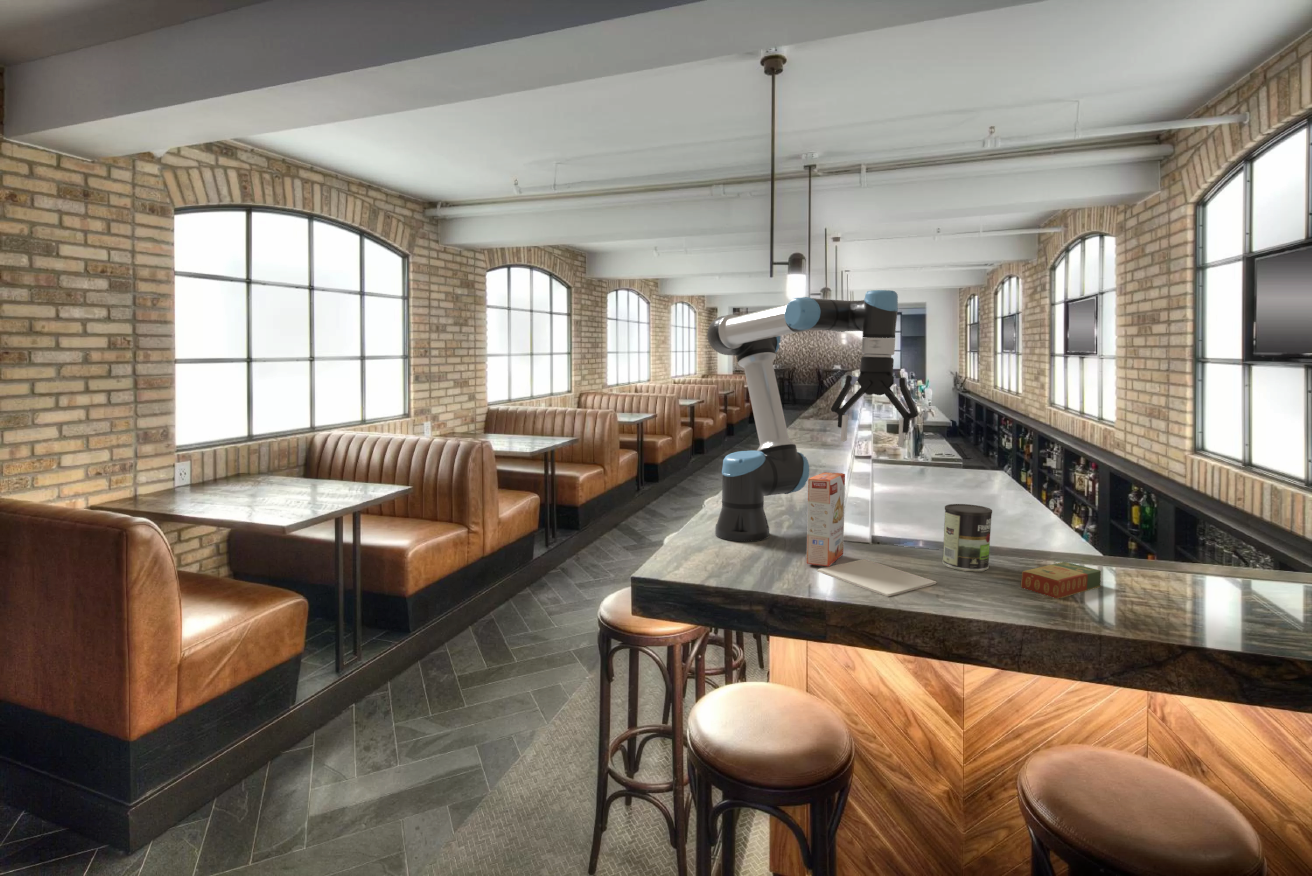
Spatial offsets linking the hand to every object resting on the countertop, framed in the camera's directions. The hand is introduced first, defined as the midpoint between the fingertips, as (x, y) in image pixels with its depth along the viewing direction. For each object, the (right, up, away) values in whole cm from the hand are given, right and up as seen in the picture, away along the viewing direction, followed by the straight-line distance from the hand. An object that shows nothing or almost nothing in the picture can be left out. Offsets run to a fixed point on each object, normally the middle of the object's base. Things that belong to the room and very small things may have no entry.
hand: (871, 443), depth 163 cm
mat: (-3, -30, -12) cm, 33 cm away
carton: (+35, -32, -18) cm, 51 cm away
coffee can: (+22, -30, -3) cm, 37 cm away
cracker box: (-11, -29, +1) cm, 31 cm away
